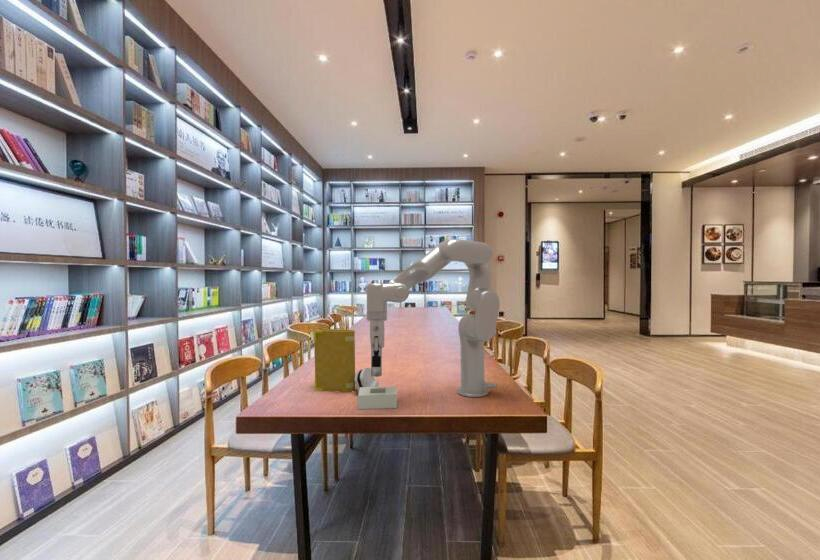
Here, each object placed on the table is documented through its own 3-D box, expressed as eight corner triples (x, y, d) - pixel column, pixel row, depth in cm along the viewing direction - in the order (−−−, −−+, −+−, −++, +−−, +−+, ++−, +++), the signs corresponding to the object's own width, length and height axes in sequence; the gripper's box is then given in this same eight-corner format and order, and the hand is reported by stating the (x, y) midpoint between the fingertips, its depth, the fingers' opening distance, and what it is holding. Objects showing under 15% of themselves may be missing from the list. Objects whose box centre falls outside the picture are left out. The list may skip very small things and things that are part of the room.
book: (314, 389, 159) (313, 330, 159) (323, 385, 166) (322, 328, 165) (350, 393, 154) (349, 332, 154) (358, 388, 160) (357, 329, 160)
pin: (382, 373, 143) (382, 341, 143) (382, 376, 139) (382, 344, 139) (370, 373, 143) (370, 342, 143) (370, 376, 138) (370, 344, 138)
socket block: (396, 399, 146) (396, 386, 146) (397, 408, 136) (397, 394, 136) (360, 400, 146) (360, 387, 146) (358, 409, 136) (358, 395, 136)
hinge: (371, 396, 150) (363, 372, 150) (360, 400, 150) (352, 376, 150) (379, 384, 166) (371, 363, 167) (369, 387, 167) (361, 366, 167)
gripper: (386, 318, 132) (386, 370, 133) (386, 313, 149) (386, 360, 149) (365, 318, 132) (365, 371, 132) (367, 314, 149) (367, 360, 149)
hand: (376, 364), depth 141 cm, fingers closed on pin, 4 cm apart
